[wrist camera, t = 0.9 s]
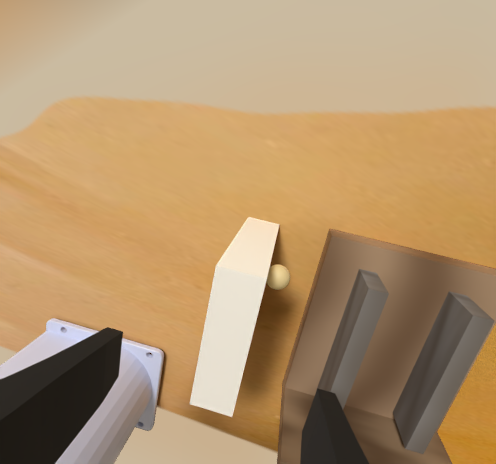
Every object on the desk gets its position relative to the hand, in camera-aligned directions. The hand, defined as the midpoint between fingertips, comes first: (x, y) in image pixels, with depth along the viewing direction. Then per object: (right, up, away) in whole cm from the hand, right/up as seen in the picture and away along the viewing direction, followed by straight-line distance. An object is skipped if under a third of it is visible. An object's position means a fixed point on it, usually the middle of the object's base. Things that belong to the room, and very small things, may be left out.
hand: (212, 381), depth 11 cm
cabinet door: (+2, +3, +9) cm, 10 cm away
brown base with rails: (+10, -1, +9) cm, 13 cm away
